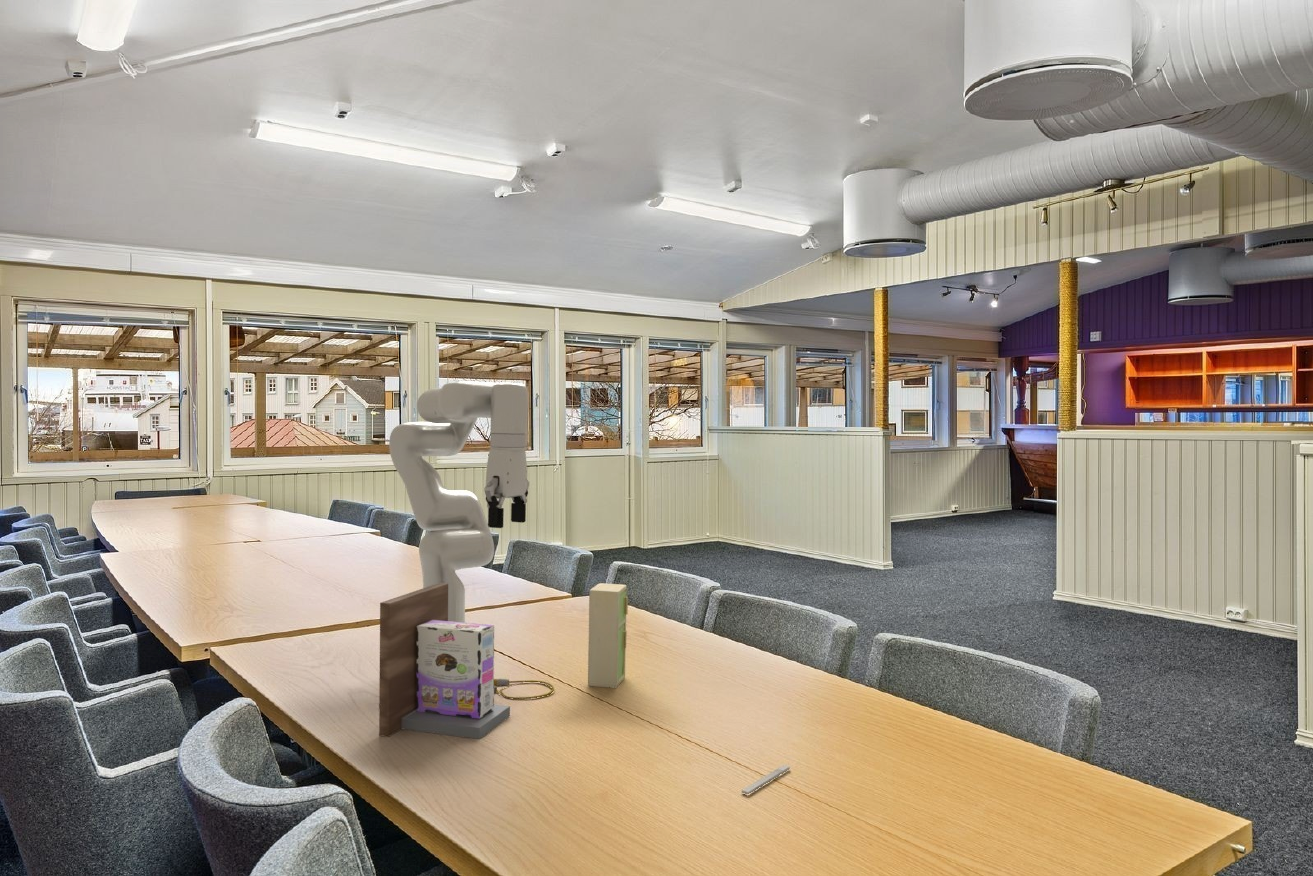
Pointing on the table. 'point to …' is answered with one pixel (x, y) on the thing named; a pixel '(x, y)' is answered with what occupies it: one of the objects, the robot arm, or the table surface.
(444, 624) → the candy box
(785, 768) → the ruler
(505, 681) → the extension cord
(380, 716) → the wall board
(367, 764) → the table surface
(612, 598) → the toy refrigerator
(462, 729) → the cleat ledge
